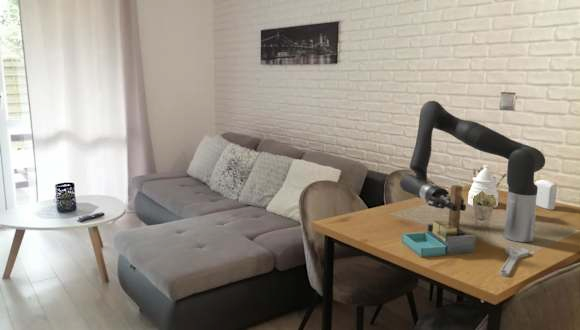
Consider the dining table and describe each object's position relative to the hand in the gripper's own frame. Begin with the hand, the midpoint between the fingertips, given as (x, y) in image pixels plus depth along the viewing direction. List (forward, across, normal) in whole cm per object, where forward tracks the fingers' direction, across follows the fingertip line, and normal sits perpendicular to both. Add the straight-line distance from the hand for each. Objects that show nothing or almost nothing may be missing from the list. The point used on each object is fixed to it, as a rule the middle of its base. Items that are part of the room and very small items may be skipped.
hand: (460, 208), depth 149 cm
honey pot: (-49, +44, +15) cm, 67 cm away
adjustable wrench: (+13, +10, +15) cm, 22 cm away
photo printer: (-39, +68, +15) cm, 80 cm away
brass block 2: (-1, -4, +10) cm, 11 cm away
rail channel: (-3, -1, +14) cm, 15 cm away
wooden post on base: (-3, 0, +10) cm, 10 cm away
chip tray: (-3, -11, +14) cm, 18 cm away
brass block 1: (-5, -4, +10) cm, 12 cm away
